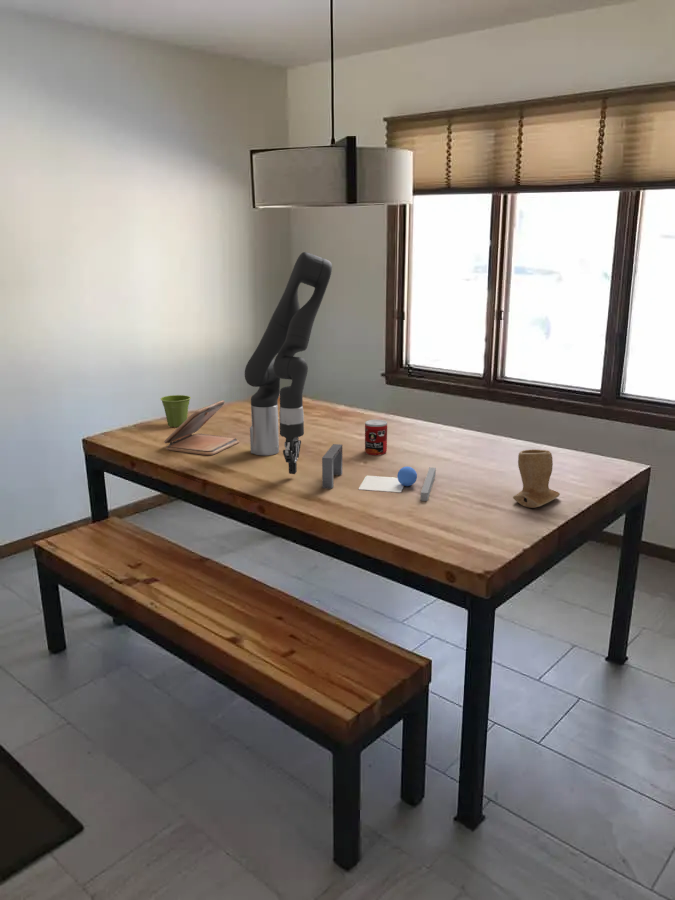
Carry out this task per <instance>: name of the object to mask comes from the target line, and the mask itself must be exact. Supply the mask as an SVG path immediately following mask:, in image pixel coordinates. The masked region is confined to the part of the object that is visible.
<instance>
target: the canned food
mask: <svg viewBox="0 0 675 900" xmlns="http://www.w3.org/2000/svg"><path fill="white" fill-rule="evenodd" d="M364 424H365V426H364V451H365V454H367V455H369V456H383V455H384V454H386V453H387V451H388V449H387V448H388V422H387V421H386V420H383V419H368V420H367V421H365V423H364Z"/></svg>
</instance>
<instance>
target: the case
mask: <svg viewBox="0 0 675 900" xmlns="http://www.w3.org/2000/svg"><path fill="white" fill-rule="evenodd" d="M224 405H225V400H224V399H223V400H220V401H216V402H214V403H212V404H209V405H207V406H205V407H202V408H200V409H198V410H196V411H194V412H193V413H191V414H190V415H189V417H188V416H187V419H186V420H185V421H184V422H183V423H182V424H181V425H180V426H179V427H176V429H175V430H173V432H172V433H171V434H170V435H169V436H168V437H167V438H165V440H164V442H163V443H164V444H168V445H167V446H166V447H165V449H166V450H167V451H173V452H180V453H188V454H196V455H203V456H214V455H216V454H219V453H220V452H223V451H225V450H227V449H229V448H231V447H233V446H235V445H238V444H239V443H240V440H239V439H237V438H235V437H229V436H224V435H223V436H222V435H215V434H207V433H197V431H199V430H200V429H201V428H202V427H203V426H204V425H205V424H206V423H207V422H208V421H209V420H210V419H212V417H213V416H214V415H215V414H216V413H217V412H218V411H220V410H221V409H222V408H223V406H224Z"/></svg>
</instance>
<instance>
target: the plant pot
mask: <svg viewBox="0 0 675 900" xmlns="http://www.w3.org/2000/svg"><path fill="white" fill-rule="evenodd" d="M191 398H192V397H191V396H190V395H184V394H175V395H174V394H173V395H165V396H162V397H161V398H160V401H162V402H161V403H162V407H163V408H164V413H165V417H166V418H165V419H166V421H167V426H168V427H170V428H172V427H174V428H178V427H179V426H180V425H181V424H182V423H183V422H184V421H185V420H186V419H187V418H188V412H189V405H190V400H191Z"/></svg>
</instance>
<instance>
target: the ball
mask: <svg viewBox="0 0 675 900" xmlns="http://www.w3.org/2000/svg"><path fill="white" fill-rule="evenodd" d="M396 476H397V477H396V478H398V481H399V482H400V483H401V484H402V485H404V487H409V486H410V487H411V486H412V485H414V484H415V483H416V482H417V479H418V473H417V471H416V470H415V469H414V468H413V467H412V466H403V467H401V468H400V469H399V470H398V472H397V475H396Z"/></svg>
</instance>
